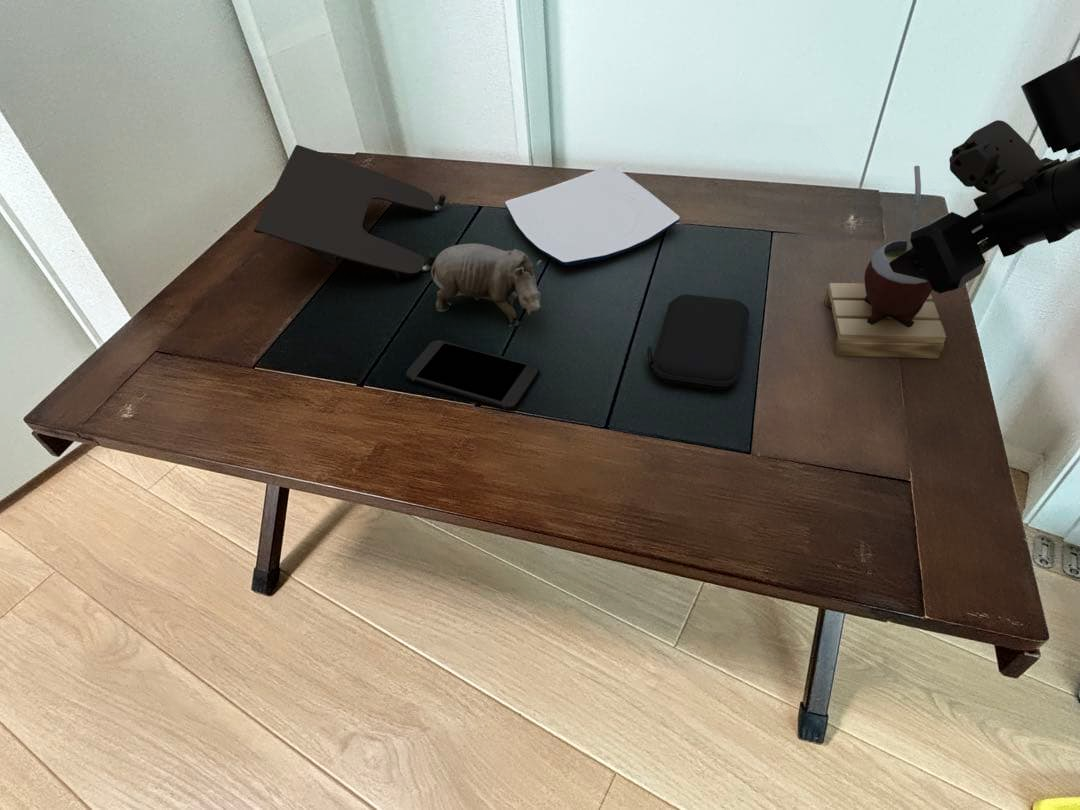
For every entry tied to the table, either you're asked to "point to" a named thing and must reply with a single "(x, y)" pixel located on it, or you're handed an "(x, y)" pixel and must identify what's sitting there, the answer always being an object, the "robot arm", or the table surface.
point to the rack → (881, 327)
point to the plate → (590, 217)
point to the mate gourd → (896, 278)
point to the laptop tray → (340, 211)
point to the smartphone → (473, 374)
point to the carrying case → (701, 342)
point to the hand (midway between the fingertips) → (920, 249)
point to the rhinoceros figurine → (486, 277)
